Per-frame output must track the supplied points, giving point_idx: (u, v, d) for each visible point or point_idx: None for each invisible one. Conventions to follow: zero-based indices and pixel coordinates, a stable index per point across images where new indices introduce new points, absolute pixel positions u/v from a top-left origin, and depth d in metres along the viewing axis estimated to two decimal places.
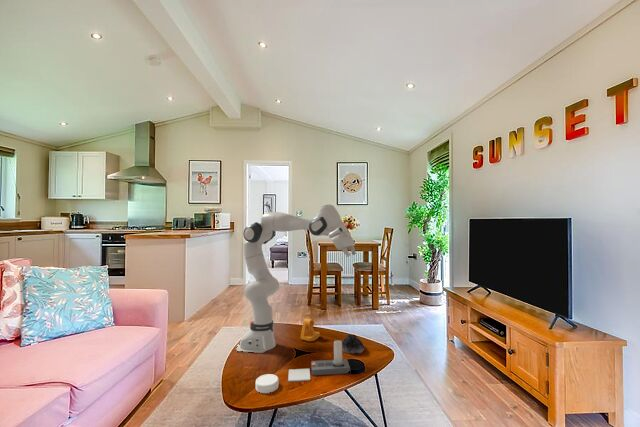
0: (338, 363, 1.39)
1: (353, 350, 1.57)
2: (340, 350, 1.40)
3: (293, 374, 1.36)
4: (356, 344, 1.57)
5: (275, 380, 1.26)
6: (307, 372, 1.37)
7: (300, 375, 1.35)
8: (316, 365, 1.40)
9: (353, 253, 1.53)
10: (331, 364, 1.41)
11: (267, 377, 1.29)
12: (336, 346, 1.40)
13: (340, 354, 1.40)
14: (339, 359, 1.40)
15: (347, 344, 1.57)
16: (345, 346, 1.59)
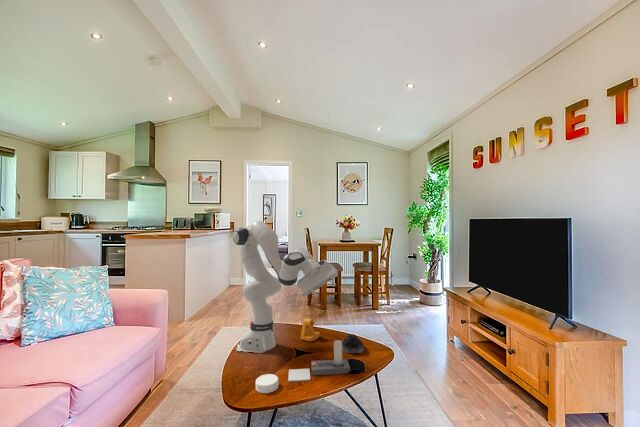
0: (338, 363, 1.39)
1: (353, 350, 1.57)
2: (340, 350, 1.40)
3: (293, 374, 1.36)
4: (356, 344, 1.57)
5: (275, 380, 1.26)
6: (307, 372, 1.37)
7: (300, 375, 1.35)
8: (316, 365, 1.40)
9: None
10: (331, 364, 1.41)
11: (267, 377, 1.29)
12: (336, 346, 1.40)
13: (340, 354, 1.40)
14: (339, 359, 1.40)
15: (347, 344, 1.57)
16: (345, 346, 1.59)
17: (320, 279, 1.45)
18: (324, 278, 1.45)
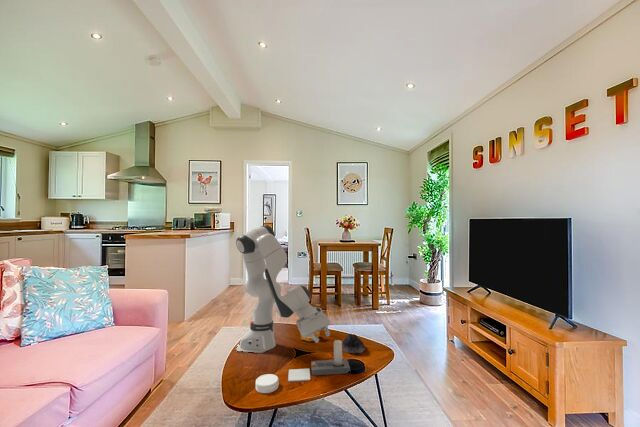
0: (338, 363, 1.39)
1: (354, 350, 1.57)
2: (340, 350, 1.40)
3: (293, 374, 1.36)
4: (357, 344, 1.57)
5: (275, 380, 1.26)
6: (307, 372, 1.37)
7: (300, 375, 1.35)
8: (316, 365, 1.40)
9: None
10: (331, 364, 1.41)
11: (267, 377, 1.29)
12: (336, 346, 1.40)
13: (340, 354, 1.40)
14: (339, 359, 1.40)
15: (348, 344, 1.58)
16: (346, 346, 1.59)
17: (319, 325, 1.48)
18: (321, 325, 1.49)
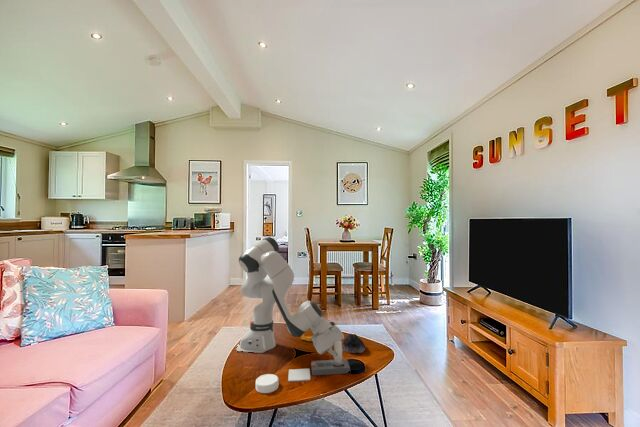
0: (338, 363, 1.39)
1: (354, 350, 1.58)
2: (340, 350, 1.40)
3: (293, 374, 1.36)
4: (357, 344, 1.57)
5: (275, 380, 1.26)
6: (307, 372, 1.37)
7: (300, 375, 1.35)
8: (316, 365, 1.40)
9: None
10: (331, 364, 1.41)
11: (267, 377, 1.29)
12: (336, 346, 1.40)
13: (340, 354, 1.40)
14: (339, 359, 1.40)
15: (348, 344, 1.58)
16: (346, 346, 1.59)
17: (334, 340, 1.44)
18: None
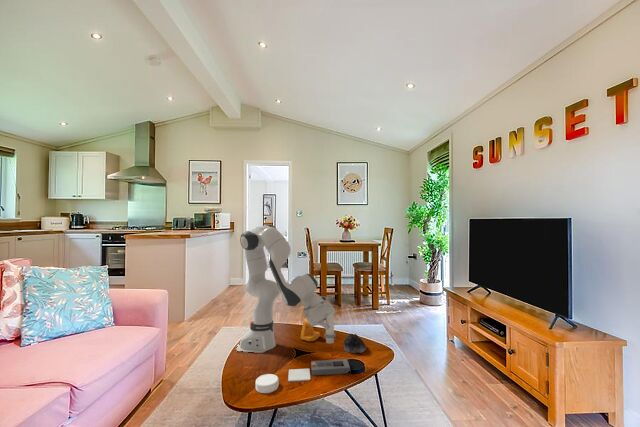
0: (330, 335, 1.40)
1: (355, 349, 1.58)
2: (332, 322, 1.41)
3: (293, 374, 1.36)
4: (358, 343, 1.57)
5: (275, 380, 1.26)
6: (307, 372, 1.37)
7: (300, 375, 1.35)
8: (316, 365, 1.40)
9: None
10: (331, 364, 1.41)
11: (267, 377, 1.29)
12: (328, 319, 1.41)
13: (332, 327, 1.41)
14: (331, 331, 1.41)
15: (349, 343, 1.58)
16: (347, 345, 1.59)
17: (325, 314, 1.45)
18: None
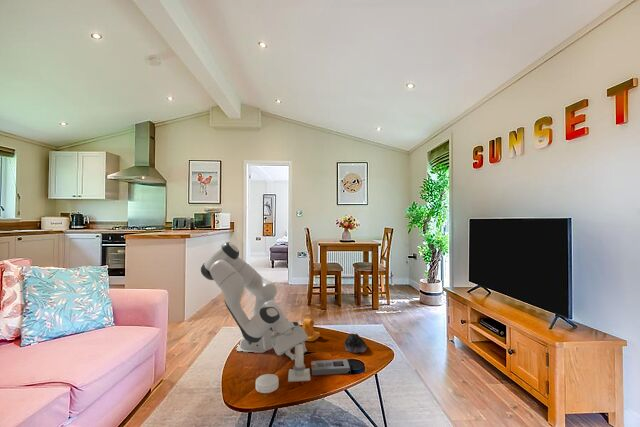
0: (298, 368, 1.34)
1: (356, 349, 1.58)
2: (301, 354, 1.35)
3: (293, 374, 1.36)
4: (359, 343, 1.58)
5: (275, 380, 1.26)
6: (307, 372, 1.37)
7: None
8: (316, 365, 1.40)
9: None
10: (331, 364, 1.41)
11: (267, 377, 1.29)
12: (297, 350, 1.35)
13: (301, 358, 1.35)
14: (300, 364, 1.34)
15: (350, 343, 1.58)
16: (348, 345, 1.59)
17: (295, 341, 1.39)
18: (298, 341, 1.40)
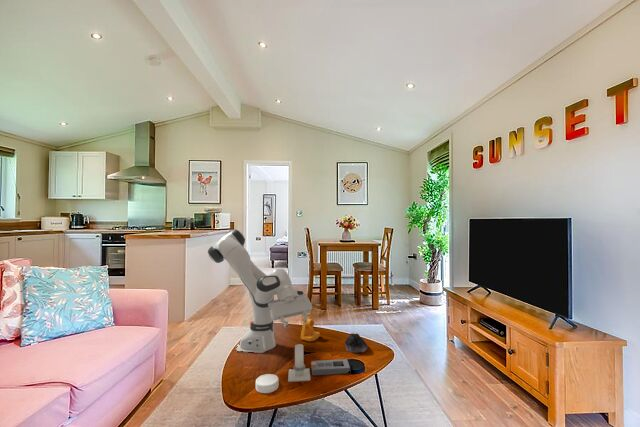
0: (298, 368, 1.34)
1: (357, 349, 1.58)
2: (301, 354, 1.35)
3: (293, 374, 1.36)
4: (360, 343, 1.58)
5: (275, 380, 1.26)
6: (307, 372, 1.37)
7: None
8: (316, 365, 1.40)
9: None
10: (331, 364, 1.41)
11: (267, 377, 1.29)
12: (297, 350, 1.35)
13: (301, 358, 1.35)
14: (300, 364, 1.34)
15: (351, 343, 1.58)
16: (349, 345, 1.60)
17: (294, 309, 1.37)
18: (298, 310, 1.37)
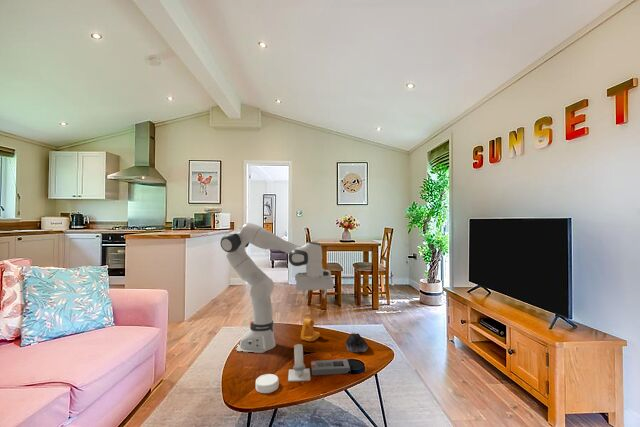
0: (298, 368, 1.34)
1: (358, 349, 1.59)
2: (300, 354, 1.35)
3: (293, 374, 1.36)
4: (361, 343, 1.58)
5: (275, 380, 1.26)
6: (307, 372, 1.37)
7: None
8: (316, 365, 1.40)
9: (307, 297, 1.55)
10: (331, 364, 1.41)
11: (267, 377, 1.29)
12: (296, 350, 1.35)
13: (300, 358, 1.35)
14: (299, 364, 1.34)
15: (352, 343, 1.59)
16: (350, 345, 1.60)
17: (316, 287, 1.54)
18: (319, 288, 1.54)
